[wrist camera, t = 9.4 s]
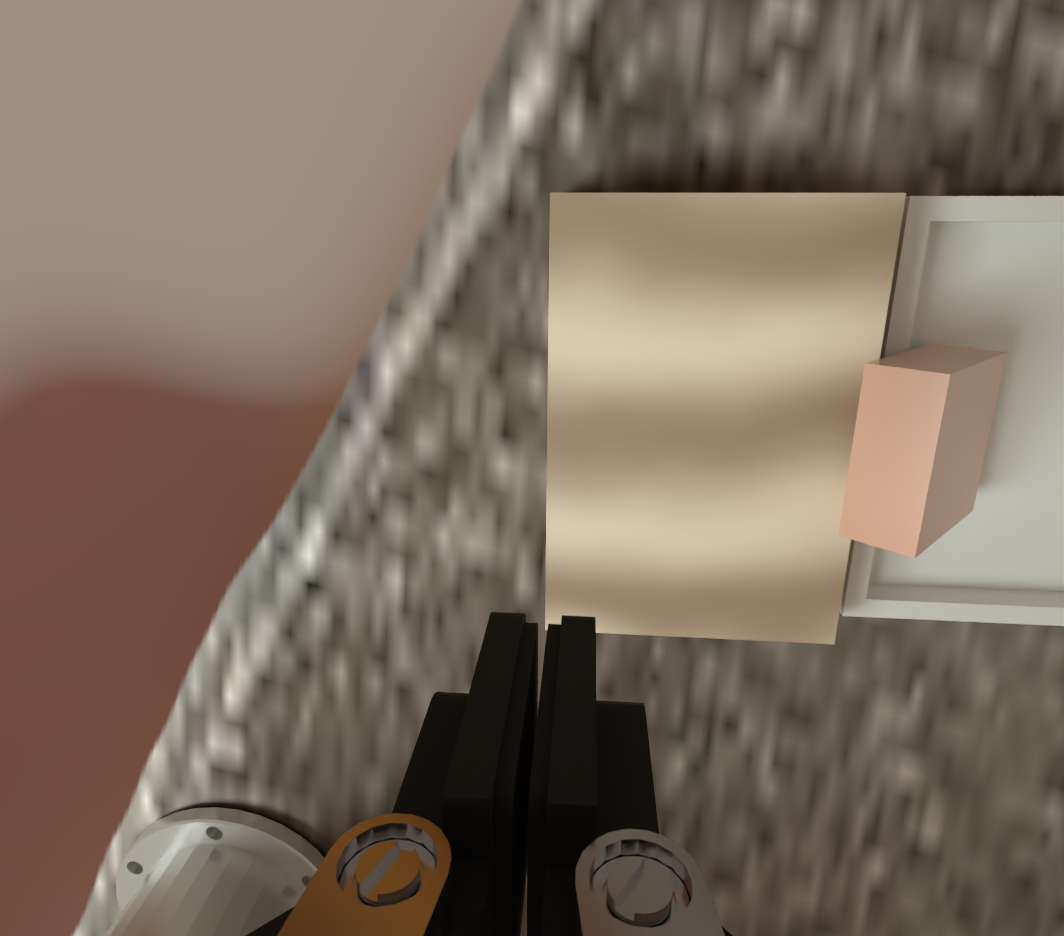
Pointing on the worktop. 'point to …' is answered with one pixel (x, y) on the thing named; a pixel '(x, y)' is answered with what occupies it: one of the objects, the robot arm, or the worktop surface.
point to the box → (1019, 418)
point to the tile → (919, 445)
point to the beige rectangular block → (708, 405)
